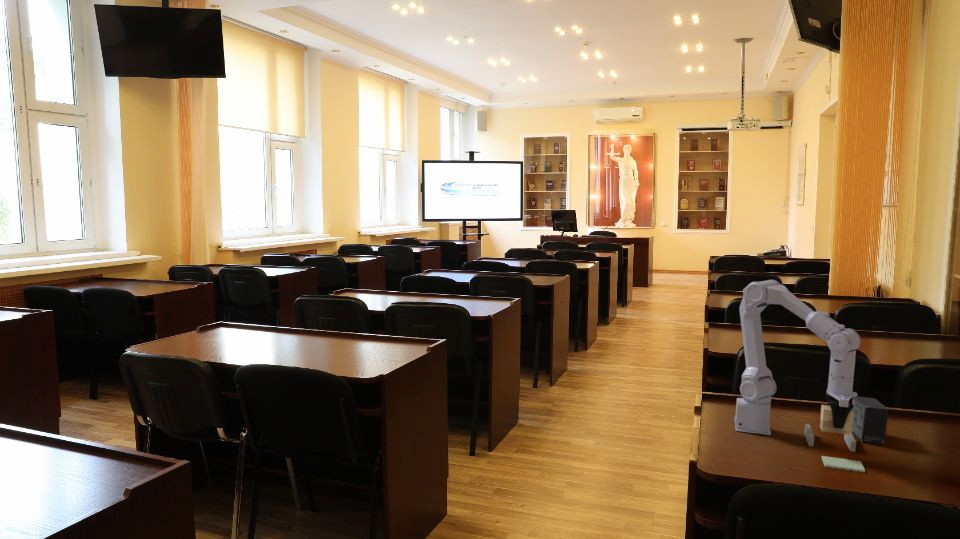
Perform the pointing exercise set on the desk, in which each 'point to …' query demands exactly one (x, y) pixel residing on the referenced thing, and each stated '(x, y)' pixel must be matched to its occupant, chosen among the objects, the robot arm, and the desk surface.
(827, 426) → the block
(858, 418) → the small box
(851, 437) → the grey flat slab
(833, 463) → the mat
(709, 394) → the desk surface
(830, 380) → the robot arm
